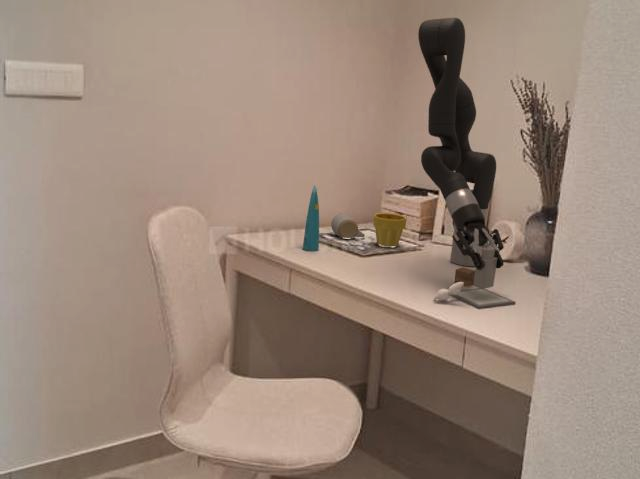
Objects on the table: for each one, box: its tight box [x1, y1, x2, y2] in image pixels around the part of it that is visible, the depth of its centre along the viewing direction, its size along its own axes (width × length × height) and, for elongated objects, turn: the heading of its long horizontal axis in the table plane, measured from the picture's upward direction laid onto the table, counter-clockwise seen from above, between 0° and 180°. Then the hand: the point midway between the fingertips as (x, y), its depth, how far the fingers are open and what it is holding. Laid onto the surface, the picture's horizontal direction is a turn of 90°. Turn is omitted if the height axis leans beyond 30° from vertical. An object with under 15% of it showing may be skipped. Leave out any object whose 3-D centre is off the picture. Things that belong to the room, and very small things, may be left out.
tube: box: [302, 185, 320, 252], centre depth 215 cm, size 7×5×19 cm, turn 13°
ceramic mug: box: [330, 212, 365, 239], centre depth 236 cm, size 11×8×8 cm
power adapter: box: [472, 239, 497, 289], centre depth 177 cm, size 3×5×12 cm, turn 135°
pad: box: [449, 287, 516, 310], centre depth 179 cm, size 12×12×1 cm
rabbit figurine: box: [433, 282, 464, 303], centre depth 175 cm, size 6×4×8 cm
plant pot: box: [372, 212, 407, 247], centre depth 228 cm, size 10×10×10 cm
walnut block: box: [453, 266, 476, 288], centre depth 192 cm, size 4×4×4 cm
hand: (491, 267), depth 176 cm, fingers closed on power adapter, 5 cm apart
